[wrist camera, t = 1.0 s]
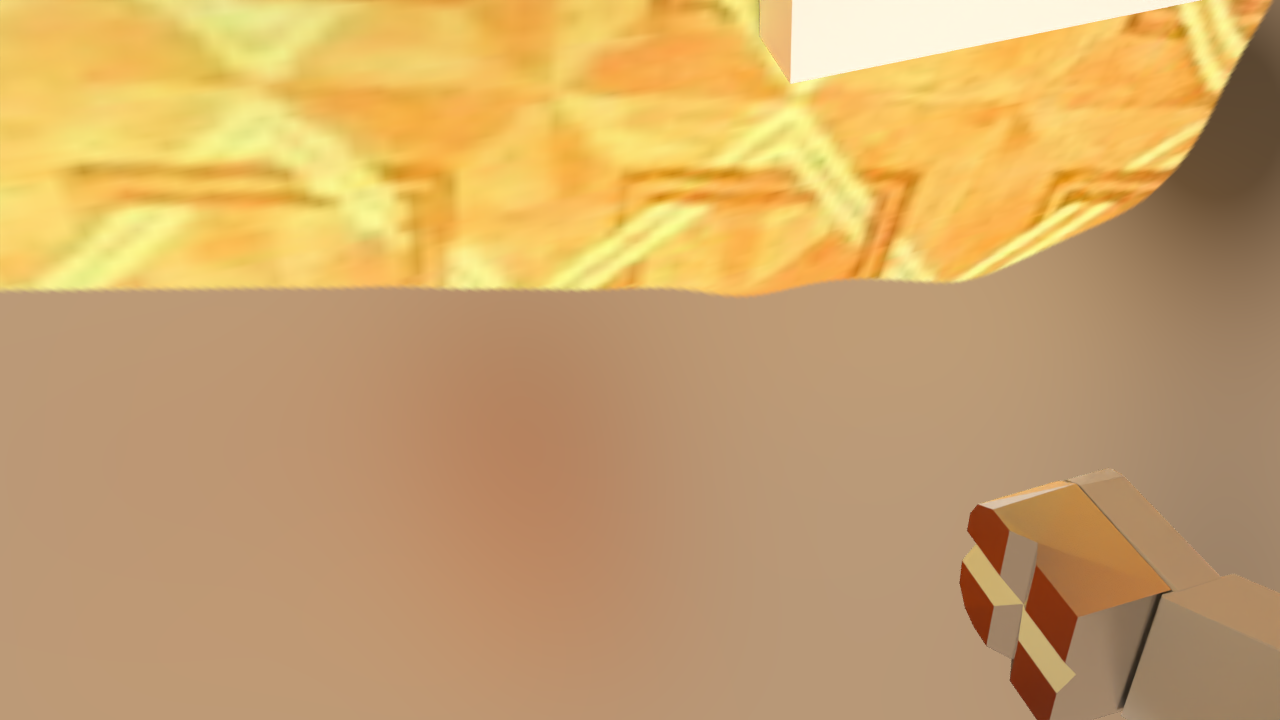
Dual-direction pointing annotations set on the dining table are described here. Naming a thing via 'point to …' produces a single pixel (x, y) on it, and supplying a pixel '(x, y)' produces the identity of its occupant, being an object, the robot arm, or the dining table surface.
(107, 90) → the dining table surface
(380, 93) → the dining table surface
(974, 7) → the housing
